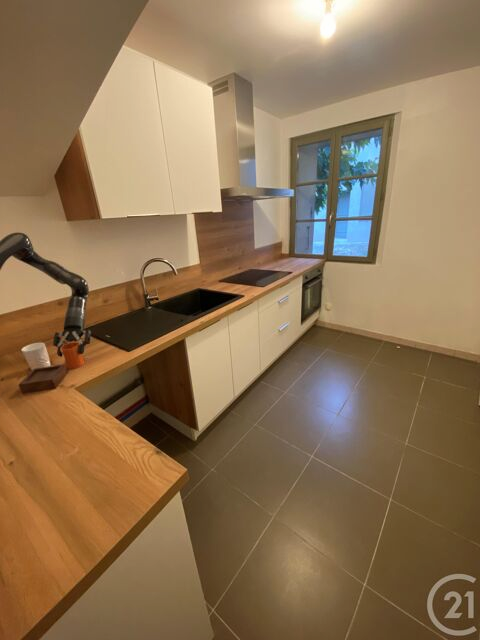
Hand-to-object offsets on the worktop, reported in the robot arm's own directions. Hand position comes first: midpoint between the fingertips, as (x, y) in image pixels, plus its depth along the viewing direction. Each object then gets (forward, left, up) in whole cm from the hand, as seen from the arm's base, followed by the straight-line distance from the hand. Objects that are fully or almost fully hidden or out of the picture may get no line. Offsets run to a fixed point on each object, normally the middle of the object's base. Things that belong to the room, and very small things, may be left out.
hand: (70, 354), depth 108 cm
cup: (0, +1, -6) cm, 6 cm away
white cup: (-14, +4, -6) cm, 16 cm away
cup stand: (-6, -10, -6) cm, 13 cm away
